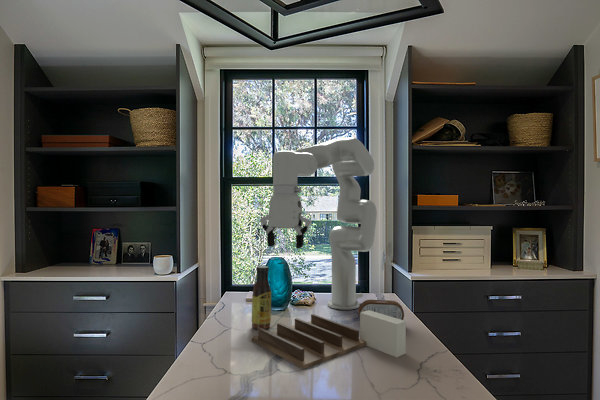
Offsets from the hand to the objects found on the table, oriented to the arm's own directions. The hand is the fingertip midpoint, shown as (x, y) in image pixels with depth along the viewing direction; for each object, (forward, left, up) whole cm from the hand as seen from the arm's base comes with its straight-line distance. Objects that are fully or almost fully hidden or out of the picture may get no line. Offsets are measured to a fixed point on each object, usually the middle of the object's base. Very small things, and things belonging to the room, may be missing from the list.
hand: (285, 246), depth 115 cm
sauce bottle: (+1, -11, -28) cm, 30 cm away
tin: (-31, +13, -28) cm, 44 cm away
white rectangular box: (-16, +25, -28) cm, 40 cm away
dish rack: (-2, +9, -28) cm, 29 cm away
